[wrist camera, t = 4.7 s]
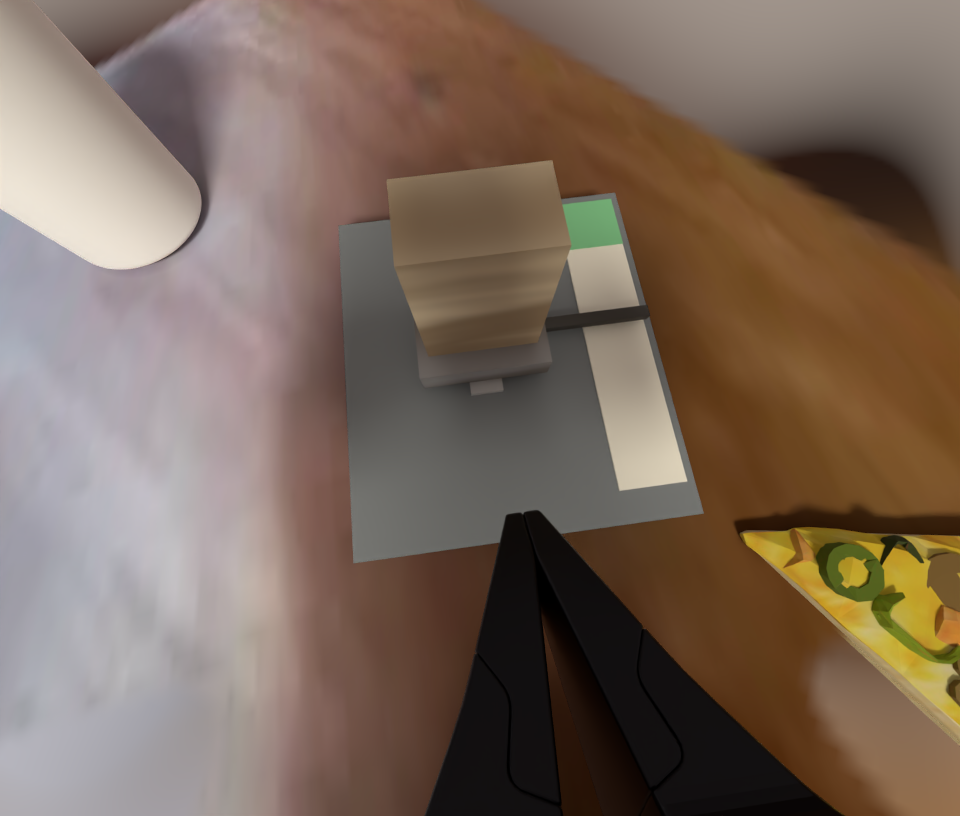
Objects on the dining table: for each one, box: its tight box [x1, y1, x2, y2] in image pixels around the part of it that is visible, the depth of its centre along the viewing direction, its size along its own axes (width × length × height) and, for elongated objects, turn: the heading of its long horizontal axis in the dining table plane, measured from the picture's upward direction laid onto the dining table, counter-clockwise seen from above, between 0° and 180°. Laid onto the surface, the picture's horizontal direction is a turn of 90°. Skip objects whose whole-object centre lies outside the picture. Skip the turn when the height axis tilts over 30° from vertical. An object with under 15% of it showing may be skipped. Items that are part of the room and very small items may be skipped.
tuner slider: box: [387, 160, 650, 388], centre depth 14 cm, size 5×12×8 cm, turn 98°
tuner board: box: [339, 193, 704, 563], centre depth 19 cm, size 18×16×2 cm
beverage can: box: [0, 0, 201, 269], centre depth 17 cm, size 8×8×12 cm
